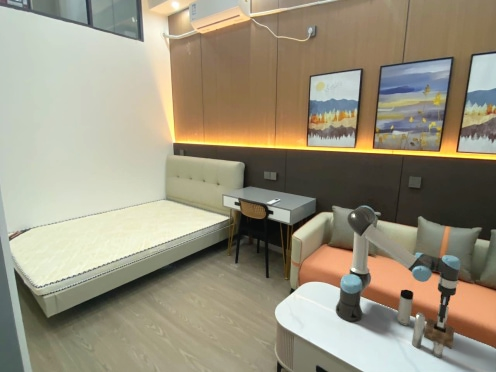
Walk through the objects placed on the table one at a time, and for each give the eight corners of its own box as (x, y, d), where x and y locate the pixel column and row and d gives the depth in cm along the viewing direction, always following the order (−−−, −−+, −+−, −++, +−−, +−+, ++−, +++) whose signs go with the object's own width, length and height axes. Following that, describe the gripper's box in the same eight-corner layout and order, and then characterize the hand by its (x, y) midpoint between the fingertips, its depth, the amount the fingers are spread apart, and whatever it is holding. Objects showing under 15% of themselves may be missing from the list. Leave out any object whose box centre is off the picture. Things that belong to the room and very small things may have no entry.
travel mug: (403, 326, 151) (408, 295, 147) (394, 318, 157) (398, 288, 153) (412, 324, 153) (416, 293, 148) (403, 316, 159) (407, 287, 155)
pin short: (431, 354, 132) (433, 344, 131) (432, 350, 135) (434, 340, 134) (441, 359, 129) (443, 349, 128) (442, 354, 132) (444, 344, 131)
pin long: (411, 345, 138) (415, 315, 134) (412, 340, 141) (417, 311, 137) (419, 349, 135) (424, 319, 132) (421, 344, 138) (426, 314, 134)
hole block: (423, 337, 143) (425, 327, 142) (426, 326, 151) (428, 317, 149) (451, 348, 136) (453, 339, 134) (452, 337, 143) (454, 328, 142)
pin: (435, 329, 142) (438, 306, 139) (436, 325, 145) (439, 303, 142) (444, 333, 139) (448, 310, 136) (445, 329, 142) (449, 306, 139)
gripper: (455, 295, 128) (447, 336, 133) (457, 280, 140) (451, 319, 145) (436, 289, 133) (430, 329, 138) (440, 275, 145) (434, 312, 150)
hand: (440, 324), depth 141 cm, fingers closed on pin, 4 cm apart
